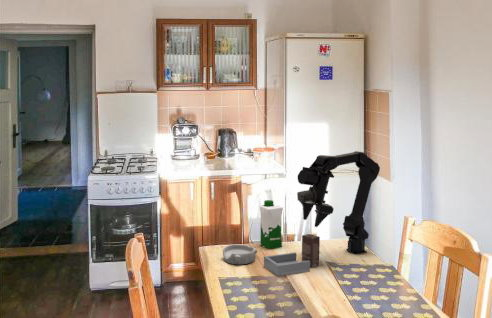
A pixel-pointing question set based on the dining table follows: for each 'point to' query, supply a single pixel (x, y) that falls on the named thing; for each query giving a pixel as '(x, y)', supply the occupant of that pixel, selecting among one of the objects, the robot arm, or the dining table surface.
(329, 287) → the dining table surface
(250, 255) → the dish
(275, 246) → the milk carton
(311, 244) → the box
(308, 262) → the tray
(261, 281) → the dining table surface
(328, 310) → the dining table surface
